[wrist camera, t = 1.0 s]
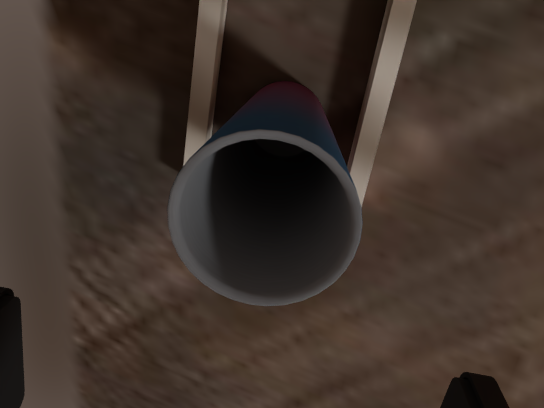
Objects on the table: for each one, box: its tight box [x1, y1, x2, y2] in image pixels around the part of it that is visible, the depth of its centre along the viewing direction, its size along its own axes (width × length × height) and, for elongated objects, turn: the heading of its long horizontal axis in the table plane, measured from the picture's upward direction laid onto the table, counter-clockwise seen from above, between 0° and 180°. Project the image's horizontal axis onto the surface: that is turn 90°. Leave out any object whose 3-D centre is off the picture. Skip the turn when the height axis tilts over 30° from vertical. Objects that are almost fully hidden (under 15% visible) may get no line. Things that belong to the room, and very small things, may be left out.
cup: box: [168, 81, 362, 306], centre depth 24 cm, size 7×7×15 cm
